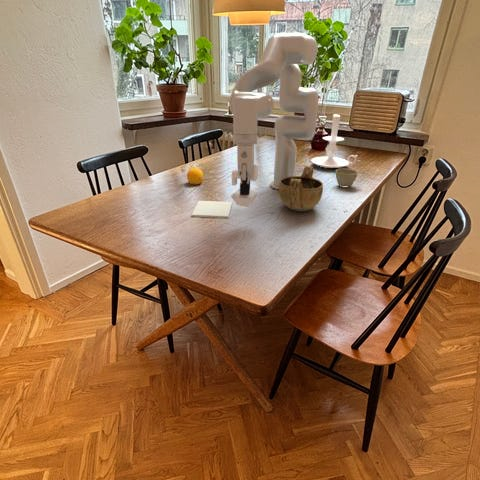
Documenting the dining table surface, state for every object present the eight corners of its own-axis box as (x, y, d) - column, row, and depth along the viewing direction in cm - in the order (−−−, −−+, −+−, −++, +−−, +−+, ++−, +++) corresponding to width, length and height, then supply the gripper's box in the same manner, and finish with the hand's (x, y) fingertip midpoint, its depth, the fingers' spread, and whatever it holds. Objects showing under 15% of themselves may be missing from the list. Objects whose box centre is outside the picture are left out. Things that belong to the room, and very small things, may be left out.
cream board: (232, 203, 134) (232, 201, 134) (228, 218, 122) (228, 216, 122) (198, 202, 135) (198, 200, 135) (191, 216, 123) (191, 214, 123)
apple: (201, 186, 152) (200, 171, 149) (185, 185, 154) (183, 169, 150) (205, 181, 159) (205, 166, 156) (190, 180, 161) (189, 165, 157)
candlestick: (348, 176, 168) (358, 119, 155) (304, 168, 181) (310, 114, 167) (360, 167, 183) (370, 114, 170) (319, 160, 195) (325, 110, 182)
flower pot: (356, 184, 157) (359, 169, 153) (353, 190, 149) (356, 175, 146) (335, 181, 161) (337, 167, 157) (331, 187, 153) (333, 172, 149)
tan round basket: (312, 223, 119) (317, 183, 112) (269, 214, 125) (271, 176, 118) (325, 202, 137) (330, 167, 130) (286, 195, 143) (289, 161, 136)
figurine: (237, 197, 119) (236, 156, 111) (261, 201, 115) (262, 160, 107) (228, 205, 113) (226, 162, 105) (253, 209, 109) (253, 166, 102)
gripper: (256, 144, 96) (255, 202, 105) (257, 132, 110) (256, 184, 119) (230, 144, 96) (231, 201, 105) (235, 132, 110) (236, 183, 119)
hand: (245, 192), depth 112 cm, fingers closed on figurine, 3 cm apart
